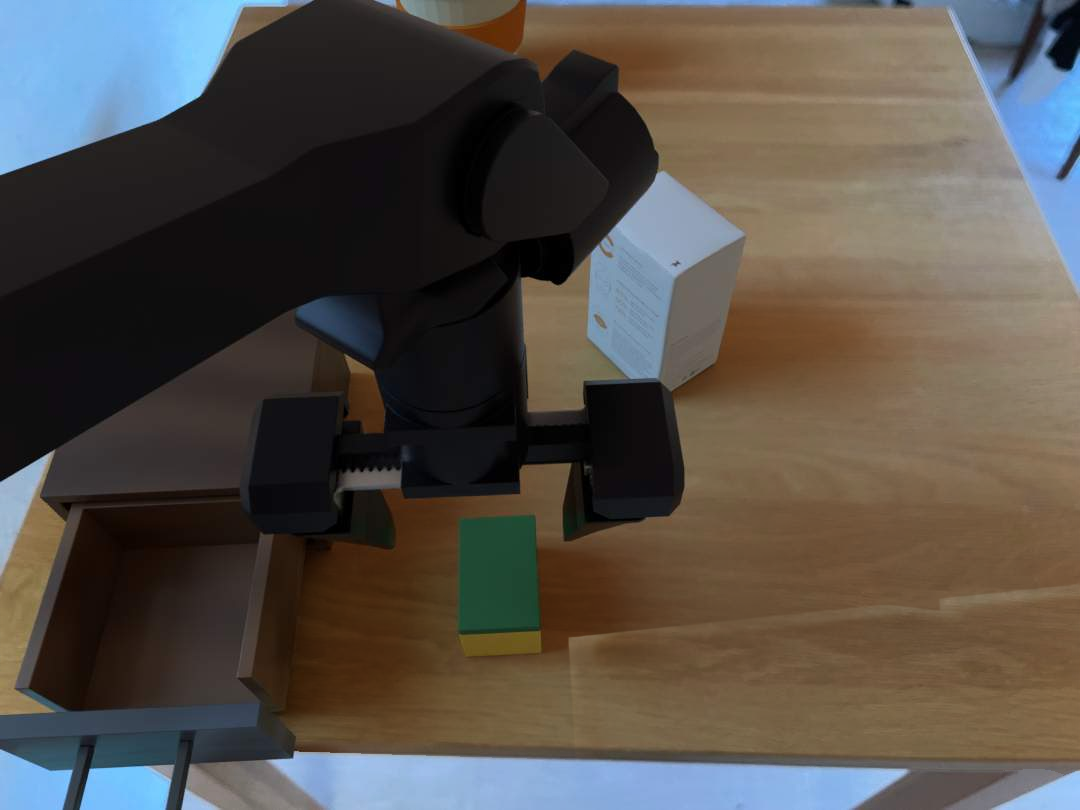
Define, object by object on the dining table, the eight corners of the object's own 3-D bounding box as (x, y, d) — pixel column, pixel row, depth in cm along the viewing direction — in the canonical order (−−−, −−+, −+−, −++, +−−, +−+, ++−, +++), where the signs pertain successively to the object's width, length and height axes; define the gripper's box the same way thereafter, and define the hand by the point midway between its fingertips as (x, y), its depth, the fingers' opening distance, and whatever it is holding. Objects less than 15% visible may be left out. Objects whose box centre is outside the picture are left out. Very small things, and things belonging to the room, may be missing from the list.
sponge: (541, 653, 50) (540, 626, 46) (465, 657, 50) (457, 630, 46) (536, 546, 54) (535, 514, 50) (466, 550, 54) (459, 518, 50)
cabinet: (331, 550, 54) (297, 484, 47) (106, 561, 54) (38, 497, 47) (350, 372, 63) (324, 294, 56) (155, 381, 62) (104, 303, 55)
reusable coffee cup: (406, 51, 87) (381, -103, 74) (526, 43, 87) (521, -112, 75) (407, 127, 79) (380, -31, 67) (538, 117, 80) (535, -41, 68)
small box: (717, 363, 63) (750, 234, 52) (653, 405, 60) (674, 279, 50) (646, 299, 66) (664, 166, 56) (584, 336, 64) (589, 206, 54)
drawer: (282, 854, 43) (241, 834, 38) (23, 868, 43) (-56, 849, 38) (319, 537, 54) (292, 484, 48) (111, 546, 54) (59, 495, 48)
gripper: (669, 194, 36) (639, 404, 49) (233, 212, 36) (318, 418, 48) (710, 406, 29) (663, 583, 42) (179, 429, 29) (294, 600, 42)
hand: (479, 536), depth 44 cm, fingers open, 9 cm apart
